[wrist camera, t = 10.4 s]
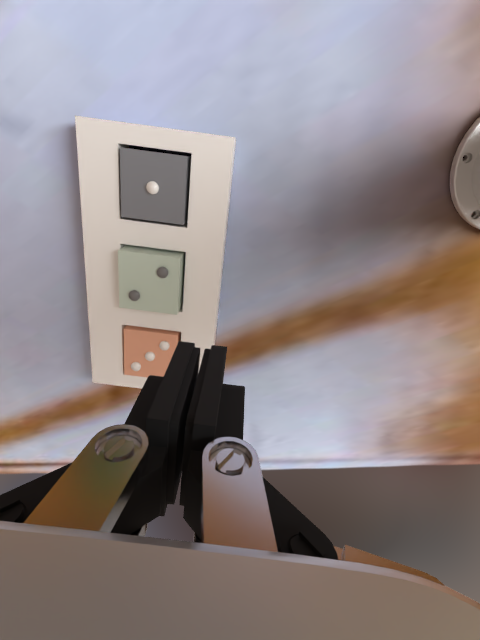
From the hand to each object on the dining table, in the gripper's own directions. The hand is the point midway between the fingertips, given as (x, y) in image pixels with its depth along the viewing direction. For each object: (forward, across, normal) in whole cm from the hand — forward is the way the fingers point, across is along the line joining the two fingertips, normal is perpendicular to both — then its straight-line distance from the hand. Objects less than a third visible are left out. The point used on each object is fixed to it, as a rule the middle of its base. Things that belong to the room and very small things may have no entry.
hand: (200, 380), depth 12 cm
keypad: (+27, +8, +5) cm, 29 cm away
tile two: (+25, +8, +5) cm, 27 cm away
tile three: (+26, +8, +14) cm, 31 cm away
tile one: (+26, +8, -4) cm, 28 cm away
